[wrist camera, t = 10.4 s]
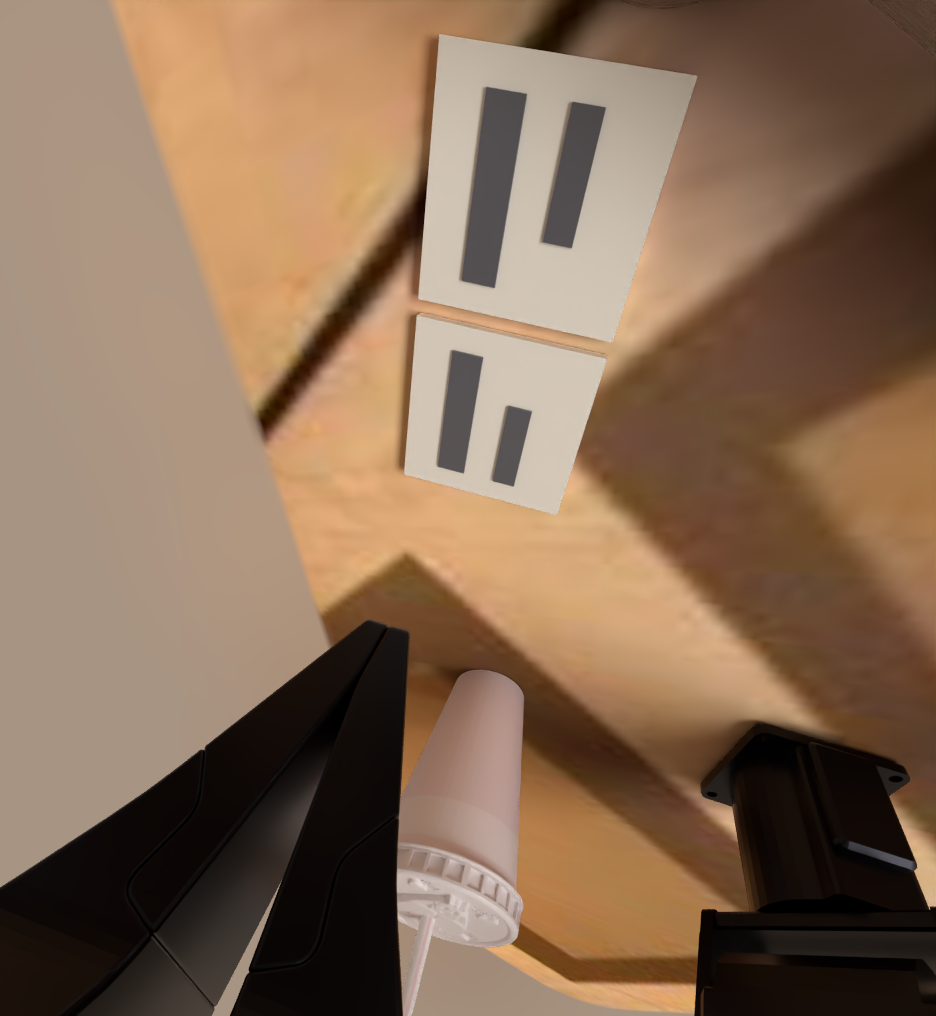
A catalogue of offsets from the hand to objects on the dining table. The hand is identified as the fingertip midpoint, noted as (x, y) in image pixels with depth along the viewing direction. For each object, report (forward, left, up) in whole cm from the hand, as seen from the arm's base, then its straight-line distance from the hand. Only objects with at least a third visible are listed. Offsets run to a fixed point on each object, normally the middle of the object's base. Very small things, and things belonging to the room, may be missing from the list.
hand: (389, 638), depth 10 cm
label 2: (0, 0, -10) cm, 10 cm away
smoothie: (-16, -2, -10) cm, 19 cm away
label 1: (+6, 0, -10) cm, 12 cm away
